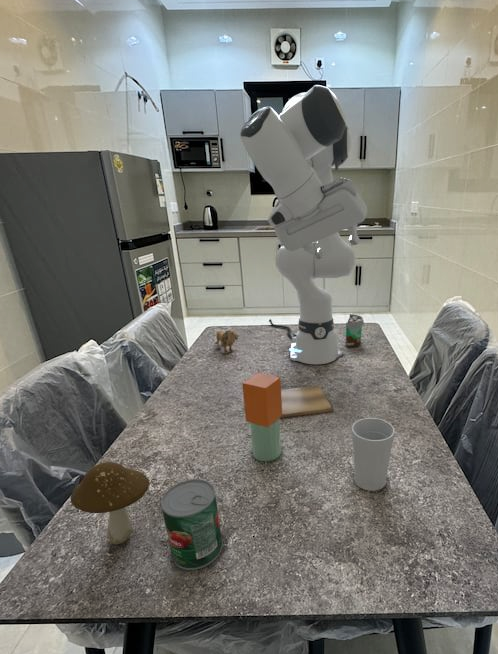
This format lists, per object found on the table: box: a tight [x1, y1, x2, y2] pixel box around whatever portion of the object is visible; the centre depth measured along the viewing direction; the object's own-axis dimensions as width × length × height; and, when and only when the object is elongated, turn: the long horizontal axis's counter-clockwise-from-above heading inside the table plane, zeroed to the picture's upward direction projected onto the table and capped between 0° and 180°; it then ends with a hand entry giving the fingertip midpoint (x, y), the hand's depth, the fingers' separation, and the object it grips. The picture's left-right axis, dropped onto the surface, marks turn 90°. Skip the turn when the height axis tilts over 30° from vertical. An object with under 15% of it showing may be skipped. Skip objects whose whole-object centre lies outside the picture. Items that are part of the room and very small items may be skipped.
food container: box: [345, 313, 365, 348], centre depth 147 cm, size 12×6×10 cm, turn 168°
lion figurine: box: [214, 329, 240, 355], centre depth 143 cm, size 15×5×9 cm, turn 44°
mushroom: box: [70, 461, 151, 545], centre depth 61 cm, size 9×11×15 cm
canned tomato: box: [160, 478, 224, 571], centre depth 60 cm, size 8×8×11 cm
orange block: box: [241, 372, 282, 427], centre depth 80 cm, size 6×6×9 cm
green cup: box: [249, 417, 282, 462], centre depth 84 cm, size 6×6×9 cm
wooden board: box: [279, 385, 333, 419], centre depth 106 cm, size 14×14×1 cm
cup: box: [351, 417, 396, 492], centre depth 74 cm, size 8×8×12 cm
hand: (337, 250), depth 85 cm, fingers open, 8 cm apart
